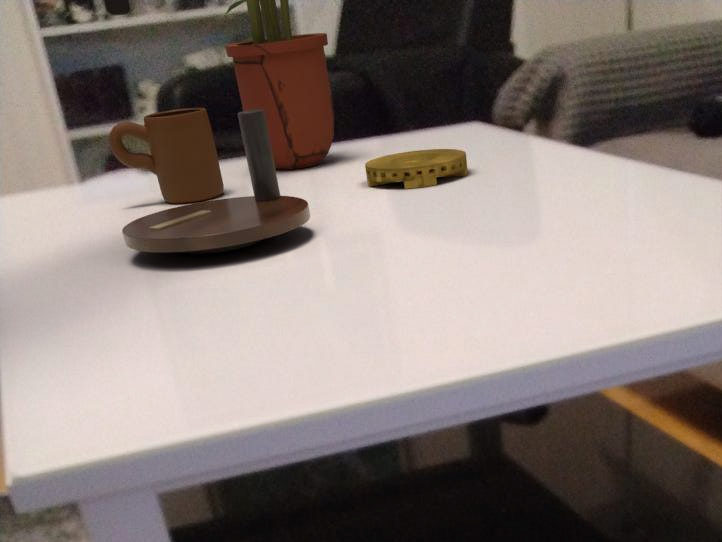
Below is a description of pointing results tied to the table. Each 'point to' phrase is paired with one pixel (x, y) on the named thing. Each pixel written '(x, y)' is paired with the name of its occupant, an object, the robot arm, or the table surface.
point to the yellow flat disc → (416, 167)
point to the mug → (174, 153)
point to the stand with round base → (226, 208)
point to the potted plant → (285, 85)
